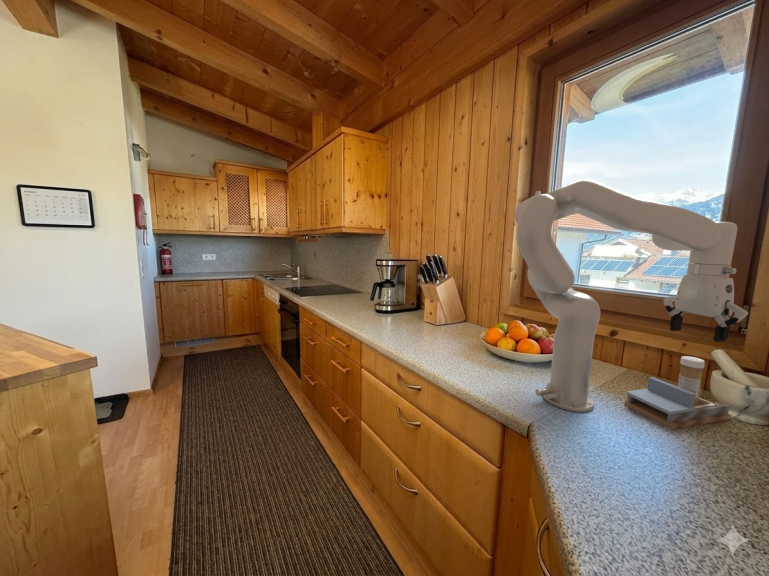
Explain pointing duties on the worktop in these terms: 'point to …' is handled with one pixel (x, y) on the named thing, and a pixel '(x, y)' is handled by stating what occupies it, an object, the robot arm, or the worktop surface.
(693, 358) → the sprinkles bottle
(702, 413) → the shallow wooden box
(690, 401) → the lid
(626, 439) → the worktop surface
